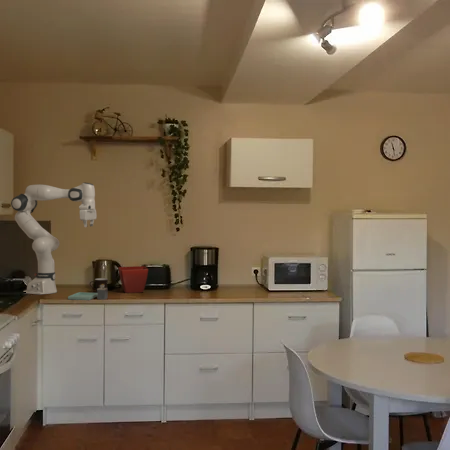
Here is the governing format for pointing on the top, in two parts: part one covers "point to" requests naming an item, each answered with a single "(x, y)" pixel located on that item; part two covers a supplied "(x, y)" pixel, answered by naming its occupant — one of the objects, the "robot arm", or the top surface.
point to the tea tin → (102, 293)
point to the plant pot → (133, 278)
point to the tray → (82, 296)
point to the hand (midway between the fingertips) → (88, 226)
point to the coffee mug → (100, 283)
